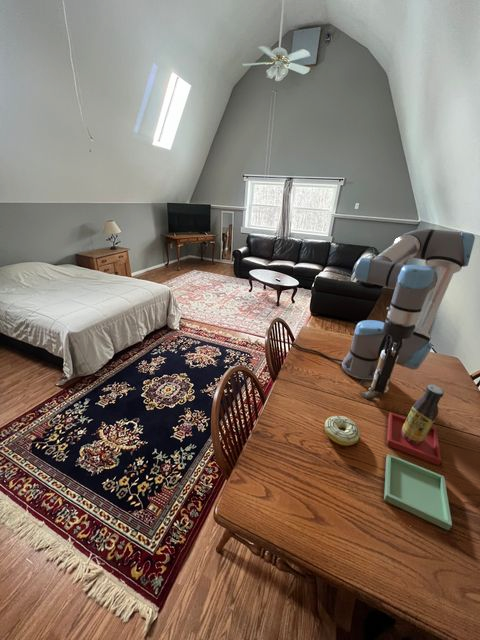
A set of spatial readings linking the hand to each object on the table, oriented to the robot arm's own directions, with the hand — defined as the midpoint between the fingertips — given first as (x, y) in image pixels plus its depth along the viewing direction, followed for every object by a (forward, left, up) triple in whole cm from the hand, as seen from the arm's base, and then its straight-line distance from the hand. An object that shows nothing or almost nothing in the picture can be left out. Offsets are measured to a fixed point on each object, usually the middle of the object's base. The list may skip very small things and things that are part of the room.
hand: (379, 386), depth 86 cm
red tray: (+13, -1, -14) cm, 19 cm away
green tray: (+13, -20, -14) cm, 28 cm away
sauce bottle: (+13, -1, -14) cm, 19 cm away
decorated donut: (-7, -11, -15) cm, 20 cm away
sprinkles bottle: (0, 0, -1) cm, 1 cm away
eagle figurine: (0, +16, -15) cm, 21 cm away
